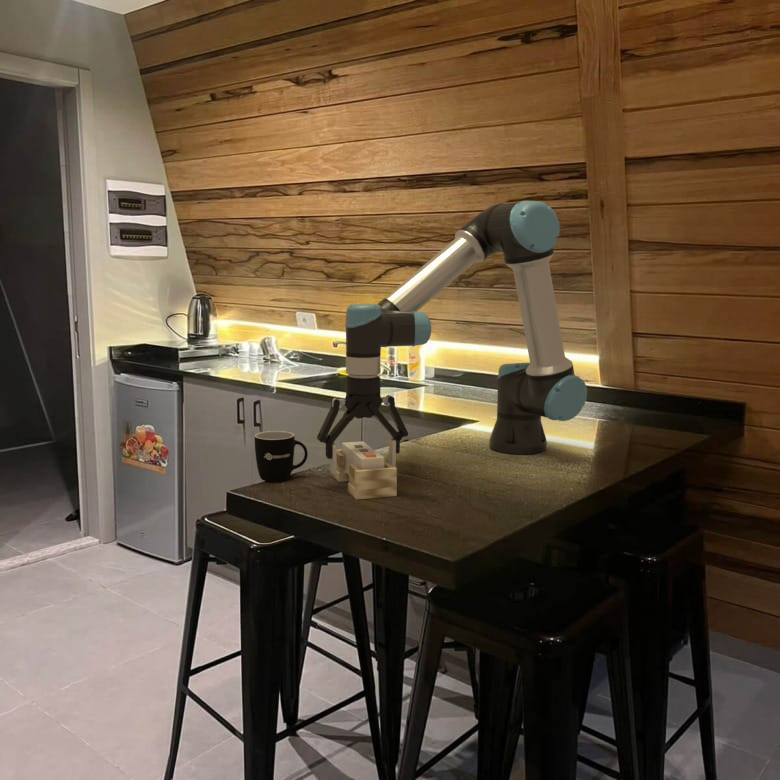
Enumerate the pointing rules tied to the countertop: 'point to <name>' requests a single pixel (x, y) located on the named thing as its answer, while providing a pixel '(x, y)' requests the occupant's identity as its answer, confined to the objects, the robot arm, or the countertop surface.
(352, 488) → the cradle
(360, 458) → the power strip
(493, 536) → the countertop surface
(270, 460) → the mug
